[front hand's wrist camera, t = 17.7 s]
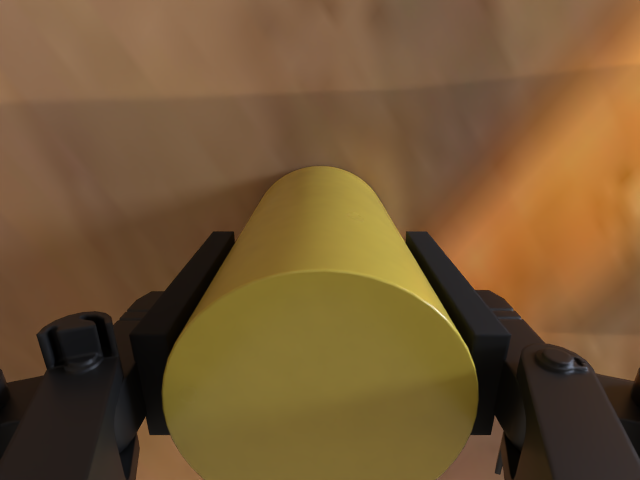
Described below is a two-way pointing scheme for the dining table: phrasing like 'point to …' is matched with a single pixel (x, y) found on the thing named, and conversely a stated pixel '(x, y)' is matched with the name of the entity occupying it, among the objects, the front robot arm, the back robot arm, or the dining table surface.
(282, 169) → the dining table surface
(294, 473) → the can
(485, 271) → the dining table surface
